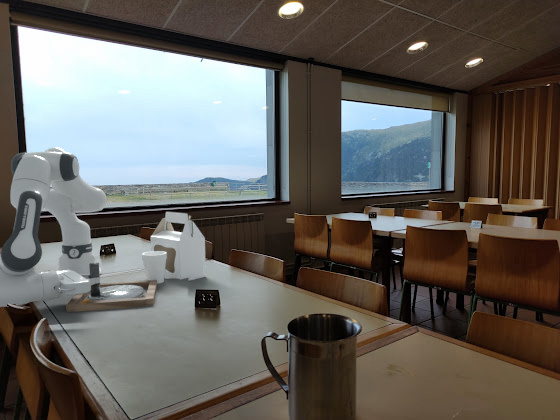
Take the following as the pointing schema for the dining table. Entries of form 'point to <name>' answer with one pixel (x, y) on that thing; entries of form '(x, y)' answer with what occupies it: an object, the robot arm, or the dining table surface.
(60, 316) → the dining table surface
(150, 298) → the wooden tray
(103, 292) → the dial
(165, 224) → the gable box
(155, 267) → the foam cup
